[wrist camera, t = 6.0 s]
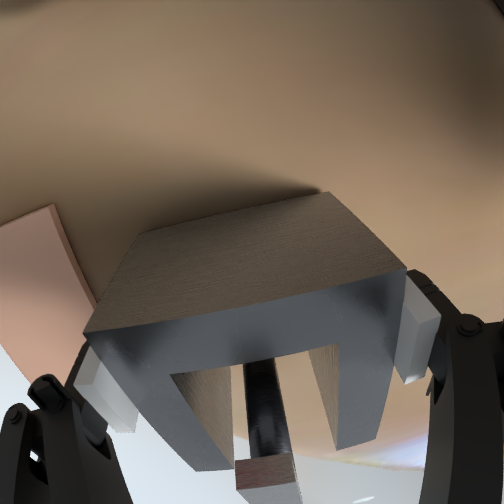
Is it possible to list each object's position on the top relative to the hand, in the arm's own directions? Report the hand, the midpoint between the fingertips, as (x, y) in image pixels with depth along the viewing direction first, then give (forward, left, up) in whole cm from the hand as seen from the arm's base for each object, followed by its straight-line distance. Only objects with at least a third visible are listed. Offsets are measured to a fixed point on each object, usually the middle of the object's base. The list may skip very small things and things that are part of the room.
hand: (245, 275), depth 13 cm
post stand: (+4, 0, -2) cm, 5 cm away
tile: (+1, -14, -2) cm, 14 cm away
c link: (+3, 0, -1) cm, 3 cm away
